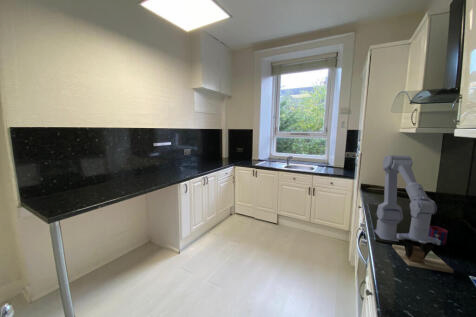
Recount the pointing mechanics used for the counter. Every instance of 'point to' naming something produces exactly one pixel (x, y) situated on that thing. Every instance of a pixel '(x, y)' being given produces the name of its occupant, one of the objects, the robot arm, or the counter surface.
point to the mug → (438, 234)
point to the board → (428, 263)
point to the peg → (416, 255)
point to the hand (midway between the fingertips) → (414, 256)
